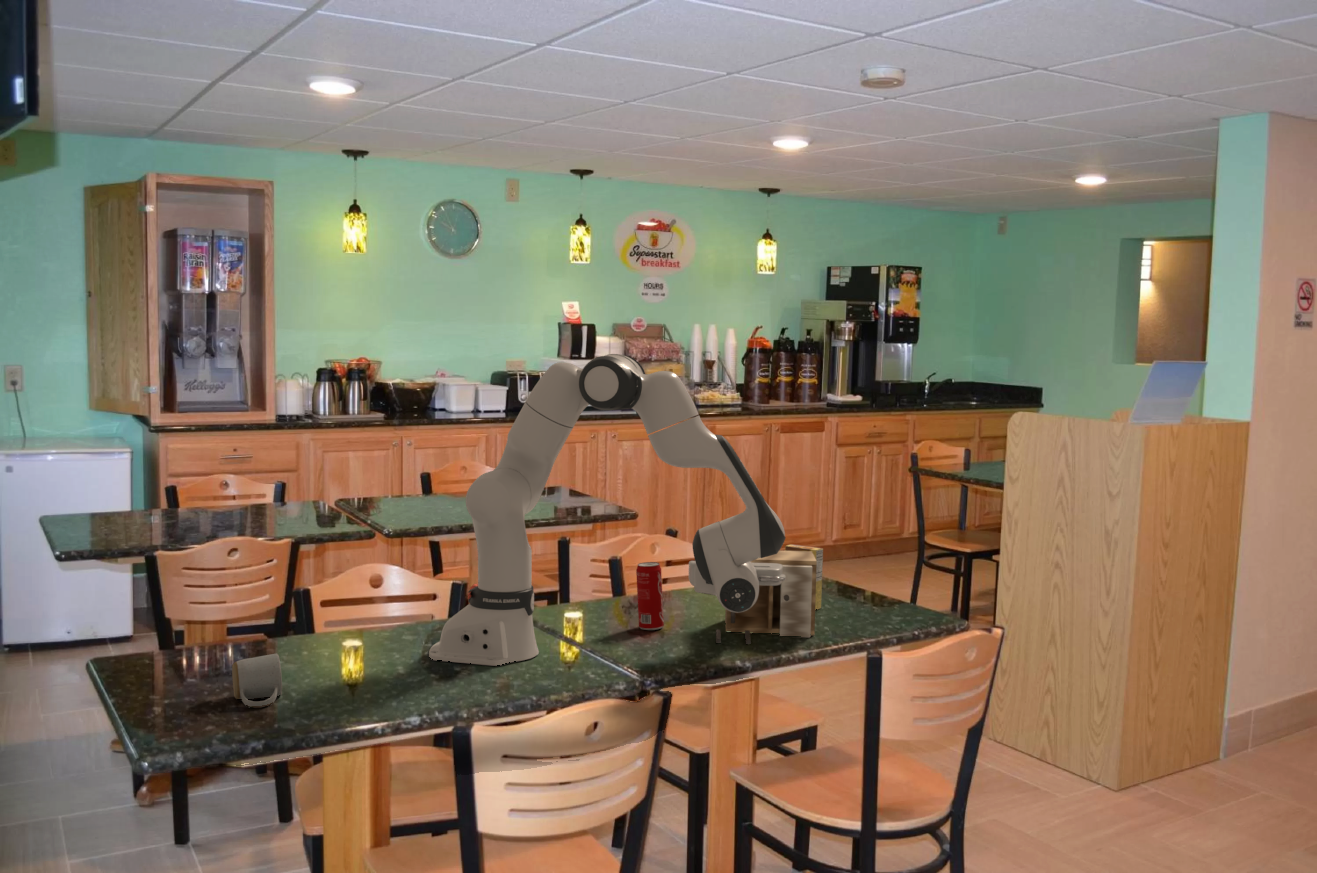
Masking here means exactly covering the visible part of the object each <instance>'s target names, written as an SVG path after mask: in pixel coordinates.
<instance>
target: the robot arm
mask: <svg viewBox="0 0 1317 873" xmlns="http://www.w3.org/2000/svg"><path fill="white" fill-rule="evenodd" d="M693 400H694V399H692V396H691V394H690V393H689V391H688V389H687V387H686V386H685V384H684V383H683V381H682V379H681V378H680V377H679V376H678V374H676V373H675V372H673V371H670V370H669V371H668V370H658V371H655V372H651V373H649V374H646V372H645V369H644V367H643V366H642V365H641V364H640V362H639V361H637V359H636V358H634V357H632V356H629V355H626V354H619V353H609V354H605V355H602V356H597V357H595V358H593V359H591V360H589V361H588V362H587V363H586V364H585V366H584V367H583V368H582V367H578V366H577V365H575V364H573V363H569V362H564V361H563V362H562V361H561V362H556V363H554V364H552V365H550V366H549V367H548V368H547V369H546V371H545V372H543V375H542V376H541V377H540V378H539V380H538V381H537V383H536V384H535V385H534V387H533V388H532V390H531V392H530V393H529V395H528V397H527V398H526V400H525V401H524V404H523V405H522V408H521V409H520V411H519V413H518V415H517V416H516V418H515V420H514V422H513V423H512V426H511V428H509V431H508V433H507V440H506V444H505V447H504V450H503V453H502V456H501V458H500V460H499V462H498V464H497V466H496V467H495V468H493V470H491V471H488V472H485V473H483V474H481V475H479V476H478V477H477V478H476V479H475V480H474V481H473V482H472V484H471V485H470V486H469V488H468V490H467V491H466V496H465V507H466V510H467V512H468V514H469V516H470V517H471V519H472V526H473V532H474V535H475V541H476V546H477V547H476V549H477V583H474V584H472V585H471V586H470V587H469V590H468V592H467V601H468V604H467V605H466V606H465V607H463V608H462V609H461V610H459V611H458V612H457V613H455V614H454V615H453V616H451V617H450V618H449V619H448V620H447V621H446V622H445V623H444V626H442V630H441V632H440V633H441V635H440V638H439V641H437V642H436V643H435V644H433V645H432V646H431V647H430V649H429V652H428V657H430V658H431V659H430V658H429V659H430V660H432V659H433V660H432V661H437V660H442V661H441V662H448V661H450V663H451V662H452V663H461V664H470V663H471V665H482V666H495V667H498V666H497V665H500V666H503V665H502V664H504V665H506V664H505V663H507V664H510V663H515V662H514V661H516V662H521V661H525V660H530V659H533V658H534V657H536V656H537V655H539V653H540V651H539V648H538V645H537V644H538V643H537V639H536V635H535V628H534V619H533V613H534V609H535V592H534V586H533V584H532V575H533V573H532V572H533V571H532V569H533V568H532V565H533V564H532V562H533V561H532V560H533V559H532V557H533V554H532V553H533V551H532V547H531V545H530V543H529V539H528V534H527V529H526V523H525V517H526V516H525V515H527V514H529V513H530V512H532V511H533V509H534V508H535V507H536V505H537V504H538V502H540V499H541V497H542V494H543V491H544V489H545V487H546V484H547V482H548V480H549V477H550V475H551V472H552V469H553V467H554V464H555V461H556V459H557V458H558V456H559V454H560V452H561V450H562V449H563V447H564V445H565V443H566V441H568V437H570V434H571V432H572V431H573V429H574V427H575V425H576V423H577V422H578V420H579V418H580V416H581V414H582V413H583V412H584V410H585V409H586V408H587V407H588V406H591V407H592V408H594V409H597V410H600V411H616V410H630V409H631V410H634V412H636V414H638V416H639V418H640V420H641V421H642V425H643V426H644V428H645V429H644V430H645V432H646V435H647V437H648V440H649V441H650V445H651V446H652V448H653V450H654V452H655V454H656V456H657V457H658V458H659V459H660V460H661V461H662V462H664V463H665V464H666V465H669V466H671V467H676V468H682V469H689V468H690V469H694V468H695V469H696V468H697V469H700V468H701V469H702V468H703V469H704V468H705V469H714V470H717V471H720V472H722V473H723V474H725V476H727V478H728V479H729V481H730V482H731V484H732V486H733V487H734V489H735V491H736V492H737V493H738V496H739V497H740V499H741V500H742V502H743V504H744V505H745V510H744V511H743V512H741V513H738V514H735V515H733V516H730V517H728V518H725V519H722V520H720V521H716V522H713V523H711V524H709V525H706V526H704V527H703V526H702V527H701V528H698V529H697V530H696V532H695V534H694V537H693V539H692V553H693V558H694V560H690V561H689V562H688V580H689V583H690V585H692V586H693V587H694V588H693V589H694V592H696V593H698V594H706V595H711V596H715V597H716V598H717V601H718V603H719V604H720V605H721V606H722V607H723V608H724V610H725V609H726V610H728V611H730V612H735V613H740V612H744V611H747V610H748V609H750V608H751V607H752V606H753V605H754V604H755V603H756V601H757V599H758V595H759V585H763V586H776V585H780V584H781V583H782V581H785V579H786V576H785V575H784V574H783V565H782V564H778V563H751V562H750V561H753V560H756V559H758V558H764V557H767V556H771V555H775V554H777V553H778V552H779V550H780V551H781V549H782V547H783V545H784V544H785V541H786V532H785V528H784V525H783V522H782V521H781V518H780V517H779V516H778V515H777V513H776V512H775V511H774V510H773V509H772V508H771V506H770V505H769V504H768V503H767V501H766V500H765V498H764V497H763V495H762V493H761V491H760V490H759V487H757V484H756V483H755V481H754V480H753V478H752V476H751V475H750V473H749V472H748V470H747V467H745V465H744V463H743V461H742V460H741V458H740V457H739V456H738V454H737V453H736V451H735V449H734V448H733V446H732V444H731V443H730V442H729V441H728V439H726V438H725V437H724V436H723V435H722V434H714V432H712V431H710V429H709V428H708V427H707V426H706V425H705V423H703V421H702V419H701V416H700V415H699V411H698V409H697V406H696V405H695V402H694V401H693ZM509 662H510V663H509Z"/></svg>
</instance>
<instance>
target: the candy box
mask: <svg viewBox="0 0 1317 873" xmlns="http://www.w3.org/2000/svg"><path fill="white" fill-rule="evenodd" d="M784 551H812V553H813V555H814V557H815V559H816V561H817V567H816V601H815V611H817V610H820V609H821V608H822V588H823V565H824V563H823V561H824V548H823V547H819V546H818V547H816V546H809V545H800V544H792V543H791V544H787V545H785V547H784ZM816 609H817V610H816Z"/></svg>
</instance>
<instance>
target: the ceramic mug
mask: <svg viewBox="0 0 1317 873" xmlns="http://www.w3.org/2000/svg"><path fill="white" fill-rule="evenodd" d="M280 659H281V658H280V656H279V654H278V653H272V654H271V653H270V654H267V655H266V654H265V655H261V656H255V657H249V658H248V657H247V658H243V659H240V660H239V659H238V660H237V661H235V662H233V664H232V665H231V677H232V689H233V696H234V698H235V699H236V700H237V699H242V700H241V701H242V703H243V705H244V706H246V705H248V706H262V705H267V704H270V703H272V702H273V703H275V701H276V699H277V698H278V697H277V696H279V695H281V696H282V694H283V680H282V677H283V676H282V668H281V667H282V666H281V661H280ZM264 697H270V698H266V699H265V698H264ZM254 698H261V699H265V700H260V701H253V700H255V699H254ZM248 699H252V700H248Z"/></svg>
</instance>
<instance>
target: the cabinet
mask: <svg viewBox="0 0 1317 873" xmlns="http://www.w3.org/2000/svg"><path fill="white" fill-rule="evenodd" d="M750 562H751V563H778V564H782V565H783V574H784V575H785V576H786V579H785V581H782V583H781V584H780V585H776V586H763V585H759V595H758V599H757V601H756V603H755V604H754V605H753V606H752V607H751V608H750V609H748V610H747V611H744V612H740V613H735V612H730V611H728V610H726V609H725V608H724V611H725V615H724V618H725V619H724V621H725V622H724V623H726V625H725V632H726V631H731V632H745V633H744V638H745V639H746V640H745V645H746V644H751V643H752V642H751V633H750V632H753V633H771V634H770V635H773V634H772V633H780V635H779V637H780V636H801V637H800V638H811V636H815V630H816V629H815V626H816V623H815V622H816V610H815V601H816V567H817V561H816V559H815V557H814V555H813V553H812V551H785V550H781V549H780V550H779V552H778V553H777V554H775V555H771V556H767V557H764V558H758V559H756V560H753V561H750ZM721 632H722V631H721V629H715V642H716V643H721V644H722V634H721ZM810 634H811V635H810ZM716 643H715V644H716Z"/></svg>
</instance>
